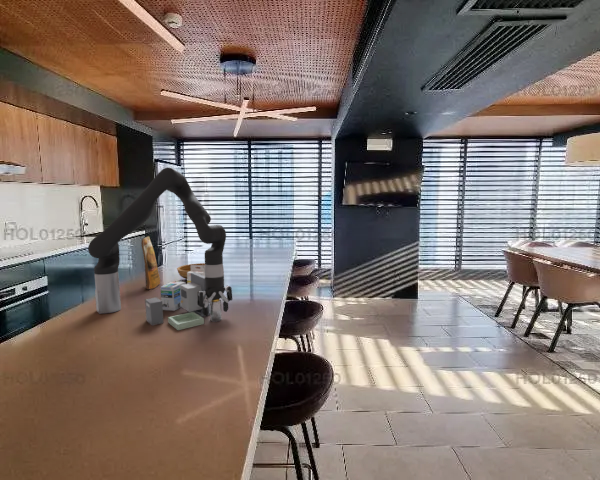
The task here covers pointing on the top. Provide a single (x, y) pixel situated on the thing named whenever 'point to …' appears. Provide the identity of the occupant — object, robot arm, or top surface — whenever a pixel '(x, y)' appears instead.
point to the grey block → (154, 311)
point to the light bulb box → (171, 295)
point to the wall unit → (193, 294)
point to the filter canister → (215, 310)
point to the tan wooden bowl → (186, 269)
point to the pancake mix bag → (150, 264)
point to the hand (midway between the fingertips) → (215, 313)
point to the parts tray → (185, 320)
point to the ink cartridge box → (196, 270)
